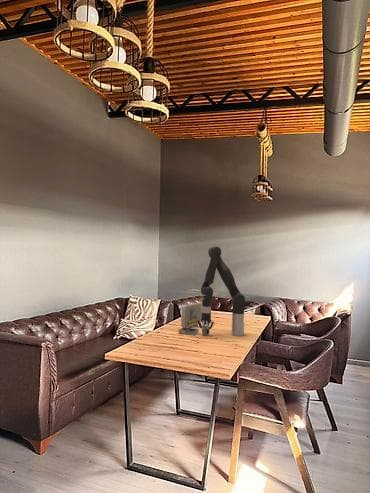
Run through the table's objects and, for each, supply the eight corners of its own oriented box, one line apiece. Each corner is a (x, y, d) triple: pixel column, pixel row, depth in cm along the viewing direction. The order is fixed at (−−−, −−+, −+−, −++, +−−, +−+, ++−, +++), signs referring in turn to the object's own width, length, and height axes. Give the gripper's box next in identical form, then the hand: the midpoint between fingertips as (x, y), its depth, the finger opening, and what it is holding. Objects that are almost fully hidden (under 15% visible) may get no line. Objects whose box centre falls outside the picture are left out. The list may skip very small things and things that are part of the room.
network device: (195, 324, 347) (195, 302, 347) (203, 326, 342) (204, 303, 342) (178, 329, 326) (179, 305, 326) (187, 330, 321) (188, 306, 321)
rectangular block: (208, 334, 310) (208, 325, 310) (206, 336, 304) (206, 327, 304) (204, 334, 311) (205, 325, 311) (202, 335, 305) (202, 326, 305)
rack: (198, 333, 314) (198, 329, 314) (193, 335, 305) (193, 331, 305) (183, 331, 319) (183, 327, 319) (178, 333, 310) (178, 329, 310)
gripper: (216, 312, 308) (215, 333, 308) (199, 310, 314) (198, 331, 314) (213, 313, 301) (212, 335, 301) (196, 311, 307) (195, 333, 307)
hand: (205, 333), depth 307 cm, fingers closed on rectangular block, 3 cm apart
